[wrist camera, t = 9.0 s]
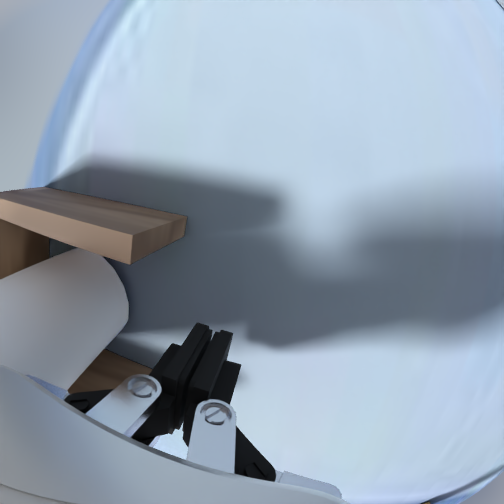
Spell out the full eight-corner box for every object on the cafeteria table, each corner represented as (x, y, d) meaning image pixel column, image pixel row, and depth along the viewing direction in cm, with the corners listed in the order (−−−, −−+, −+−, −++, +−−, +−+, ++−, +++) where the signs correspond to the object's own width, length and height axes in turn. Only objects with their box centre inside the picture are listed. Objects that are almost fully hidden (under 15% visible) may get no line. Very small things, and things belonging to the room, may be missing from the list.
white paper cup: (85, 339, 16) (-5, 423, 7) (47, 252, 15) (-67, 314, 5) (153, 337, 14) (44, 466, 5) (107, 226, 13) (-62, 308, 3)
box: (43, 186, 14) (-15, 194, 9) (187, 216, 13) (132, 235, 8) (49, 328, 17) (8, 357, 12) (168, 385, 16) (136, 439, 11)
